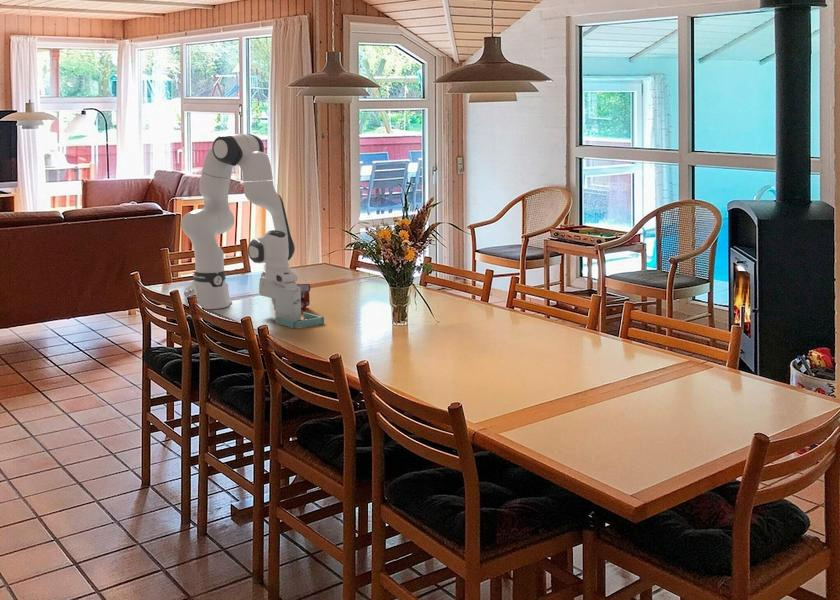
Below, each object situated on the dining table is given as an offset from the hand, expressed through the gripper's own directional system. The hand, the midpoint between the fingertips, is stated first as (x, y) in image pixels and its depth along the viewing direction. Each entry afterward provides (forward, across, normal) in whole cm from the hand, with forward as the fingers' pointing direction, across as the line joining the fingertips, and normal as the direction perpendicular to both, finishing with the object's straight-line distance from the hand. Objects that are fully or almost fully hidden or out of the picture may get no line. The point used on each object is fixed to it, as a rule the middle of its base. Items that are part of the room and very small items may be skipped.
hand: (278, 310), depth 353 cm
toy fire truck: (+3, -8, +14) cm, 17 cm away
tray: (+3, +14, 0) cm, 15 cm away
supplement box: (+3, +7, 0) cm, 8 cm away
